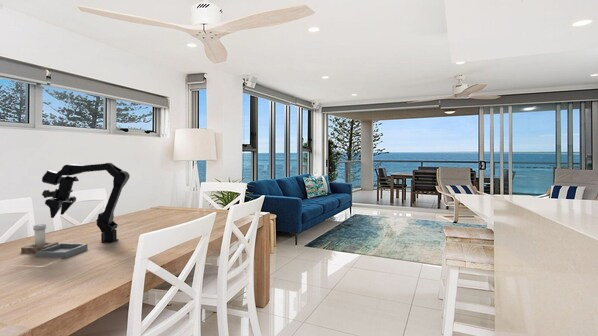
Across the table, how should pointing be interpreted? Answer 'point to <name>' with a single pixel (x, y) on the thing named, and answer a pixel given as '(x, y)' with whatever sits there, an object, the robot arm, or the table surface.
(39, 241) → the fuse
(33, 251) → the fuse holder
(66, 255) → the parts tray
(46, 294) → the table surface
